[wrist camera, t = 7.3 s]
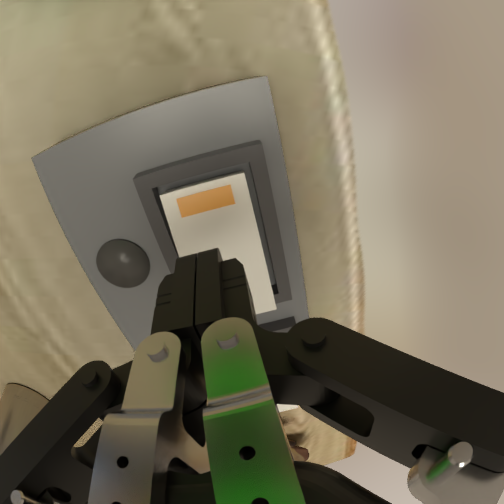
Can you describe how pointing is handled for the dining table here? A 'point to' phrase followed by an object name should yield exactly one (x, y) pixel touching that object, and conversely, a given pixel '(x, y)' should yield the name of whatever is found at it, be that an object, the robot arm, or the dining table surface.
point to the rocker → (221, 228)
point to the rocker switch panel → (166, 178)
